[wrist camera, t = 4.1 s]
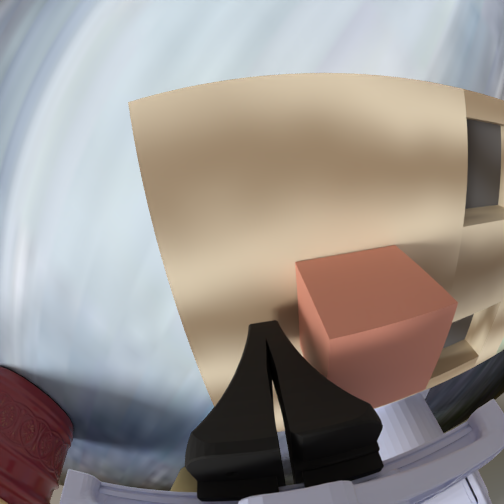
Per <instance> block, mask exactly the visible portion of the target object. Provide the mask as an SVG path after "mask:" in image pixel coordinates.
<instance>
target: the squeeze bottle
mask: <svg viewBox="0 0 504 504" xmlns="http://www.w3.org/2000/svg"><path fill="white" fill-rule="evenodd" d="M170 491H174V492H197V480H196V479H195V478H194V477H193V476H192V475H191V474H190V473H189V472H188V471H187V469H186V468H185V467H183V468H182V469H181V470H180V472H179V474H178V476H177V478H176V480H175V482H174V484H173V486H172V488H171V490H170Z"/></svg>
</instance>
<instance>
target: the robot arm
mask: <svg viewBox="0 0 504 504" xmlns="http://www.w3.org/2000/svg"><path fill="white" fill-rule="evenodd" d="M272 380H273V384H274V388H275V391H276V395H277V398H278V402H279V405H280V409H281V413H282V417H283V422H284V428H285V434H286V439H287V445H288V451H289V457H290V463H291V469H292V474H293V480H294V485H288V486H286V484H285V478H284V472H283V466H282V460H281V454H280V448H279V441H278V435H277V429H276V423H275V416H274V402H273V385H272ZM429 390H430V388H429V389H427V390H424V391H422V392H420V393H417V394H415V395H412V396H409V397H407V398H404V399H402V400H399V401H396V402H393V403H391V404H388V405H385V406H382V407H379V408H376V409H374V408H373V407H372V406H371V404H370V403H368V402H365V401H363V400H361V399H359V398H357V397H355V396H353V395H351V394H350V393H348V392H346V391H345V390H343V389H341V388H340V387H338V386H337V385H335V384H334V383H333V382H331V381H330V380H328V379H327V378H326V377H324V376H323V375H322V374H321V373H319V372H318V371H317V370H316V369H315V368H314V367H313V366H312V365H311V364H310V363H309V362H308V361H307V360H306V359H305V358H304V357H303V356H302V355H301V354H300V353H299V352H298V351H297V349H296V348H295V347H294V346H293V344H292V343H291V342H290V340H289V339H288V338H287V336H286V335H285V333H284V332H283V330H282V328H281V327H280V325H279V322H278V321H276V320H272V321H266V322H260V323H254V324H250V325H249V326H248V336H247V340H246V344H245V347H244V351H243V354H242V357H241V359H240V362H239V364H238V367H237V369H236V372H235V374H234V376H233V378H232V380H231V382H230V384H229V385H228V387H227V389H226V390H225V392H224V394H223V395H222V397H221V398H220V400H219V401H218V403H217V404H216V405H215V407H214V408H213V409H212V411H211V412H210V413H209V414H208V416H207V417H206V418H205V419H204V420H203V421H202V422H201V423H200V424H199V425H198V426H197V427H196V428H195V430H194V431H193V432H192V433H191V435H190V437H189V441H188V444H187V449H186V455H185V468H186V469H187V471H188V472H189V473H190V474H191V475H192V476H193V477H194V478H195V479H196V480H197V492H174V491H160V490H150V489H141V488H133V487H127V486H120V485H115V484H109V483H104V482H100V481H99V480H98V479H97V478H96V477H94V476H92V475H90V474H87V473H83V472H79V471H75V470H71V469H68V472H67V475H66V479H65V483H64V488H63V491H62V495H61V500H60V504H492V503H491V500H490V498H489V496H488V490H487V488H486V486H485V484H484V482H483V479H482V477H481V475H480V473H479V471H478V469H480V468H481V467H482V466H484V465H485V464H487V463H488V462H489V461H491V460H492V459H493V458H494V457H495V456H496V455H497V454H498V453H500V452H501V451H502V449H504V413H503V412H502V410H501V409H500V407H499V406H498V404H497V403H496V401H495V400H494V399H492V400H491V401H489V402H487V403H486V404H484V405H483V406H481V407H480V408H478V409H477V410H476V411H475V412H473V414H472V415H471V416H470V417H469V419H468V421H467V422H465V423H463V424H462V425H460V426H458V427H456V428H454V429H453V430H451V431H449V432H447V433H445V434H443V432H442V430H441V428H440V426H439V424H438V422H437V421H436V419H435V417H434V415H433V413H432V412H431V410H430V408H429V406H428V405H427V403H426V401H425V398H426V396H427V394H428V392H429Z"/></svg>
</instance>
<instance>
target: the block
mask: <svg viewBox="0 0 504 504" xmlns="http://www.w3.org/2000/svg"><path fill="white" fill-rule="evenodd" d="M295 268H296V283H297V299H298V316H299V337H300V347H301V350H302V354H303V357H304V358H305V359H306V360H307V361H308V362H309V363H310V364H311V365H312V366H313V367H314V368H315V369H316V370H317V371H318V372H319V373H321V374H322V375H323V376H324V377H326V378H327V379H328V380H330V381H331V382H333V383H334V384H335V385H337V386H338V387H340V388H341V389H343V390H345V391H346V392H348V393H350V394H351V395H353V396H355V397H357V398H359V399H361V400H363V401H365V402H368V403H370V404H371V406H372V407H373V408H377V407H380V406H383V405H386V404H389V403H392V402H394V401H397V400H400V399H403V398H405V397H408V396H410V395H413V394H415V393H418V392H420V391H423V390H425V389H426V387H427V384H428V382H429V380H430V378H431V376H432V373H433V371H434V369H435V366H436V364H437V362H438V359H439V357H440V354H441V352H442V349H443V347H444V344H445V341H446V338H447V336H448V333H449V330H450V327H451V324H452V321H453V318H454V315H455V312H456V308H457V305H458V302H457V301H456V300H455V299H454V298H453V297H452V296H451V295H450V294H449V293H448V292H447V291H446V290H445V289H444V288H443V287H442V286H441V285H440V284H438V283H437V282H436V281H435V280H434V279H433V278H432V277H431V276H430V275H429V274H428V273H427V272H425V271H424V270H423V269H422V268H421V267H420V266H419V265H418V264H417V263H415V262H414V261H413V260H412V259H411V258H410V257H409V256H407V255H406V254H405V253H404V252H403V251H402V250H400V249H399V248H398V247H397V246H396V245H392V246H387V247H381V248H376V249H370V250H364V251H358V252H353V253H347V254H341V255H335V256H329V257H323V258H317V259H311V260H305V261H299V262H295Z"/></svg>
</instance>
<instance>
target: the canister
mask: <svg viewBox="0 0 504 504" xmlns="http://www.w3.org/2000/svg"><path fill="white" fill-rule="evenodd" d="M73 430H74V428H73V424H72V422H71V420H70V419H69V417H68V416H67V415H66V413H65V412H64V411H63V410H62V409H61V408H60V407H59V406H58V405H57V404H56V403H55V402H54V401H53V400H52V399H51V398H50V397H49V396H48V395H46V394H45V393H44V392H43V391H41V390H40V389H39V388H38V387H36V386H35V385H33V384H32V383H31V382H29V381H28V380H26V379H25V378H23V377H22V376H20V375H18V374H16V373H15V372H13V371H11V370H8V369H6V368H3V367H0V504H50V500H51V497H52V494H53V491H54V490H56V489H58V488H59V484H58V483H59V479H60V475H61V471H62V468H63V465H64V461H65V458H66V455H67V451H68V449H69V448H70V447H71V442H72V441H73Z"/></svg>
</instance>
